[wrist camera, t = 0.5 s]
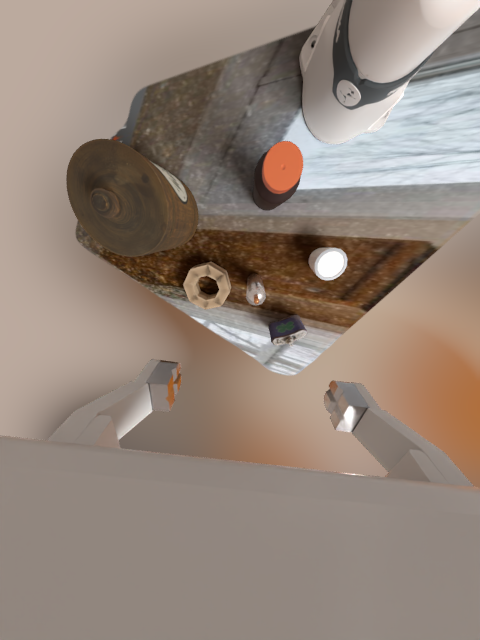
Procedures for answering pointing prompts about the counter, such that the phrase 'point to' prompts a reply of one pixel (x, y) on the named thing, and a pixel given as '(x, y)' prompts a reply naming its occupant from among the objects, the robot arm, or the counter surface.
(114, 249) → the wooden container
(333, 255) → the white short cylinder
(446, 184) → the counter surface
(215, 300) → the bead
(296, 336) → the flask
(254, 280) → the white candle
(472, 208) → the counter surface
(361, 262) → the counter surface
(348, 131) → the robot arm
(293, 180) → the bottle
